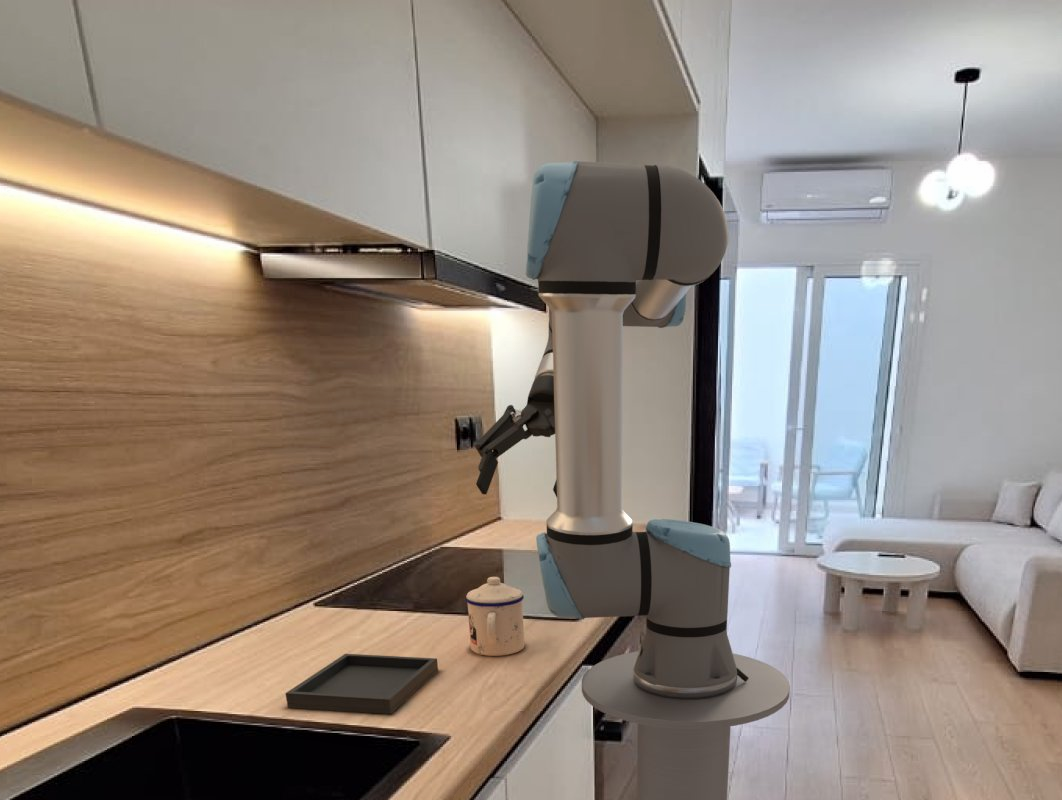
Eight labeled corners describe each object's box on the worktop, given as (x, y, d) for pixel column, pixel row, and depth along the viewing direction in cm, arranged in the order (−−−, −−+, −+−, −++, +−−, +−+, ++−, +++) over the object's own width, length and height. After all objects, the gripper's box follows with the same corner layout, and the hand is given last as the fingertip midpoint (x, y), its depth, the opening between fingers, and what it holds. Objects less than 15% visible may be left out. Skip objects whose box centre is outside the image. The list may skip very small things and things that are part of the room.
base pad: (438, 671, 121) (437, 658, 120) (391, 714, 106) (389, 699, 105) (346, 666, 123) (345, 653, 122) (287, 707, 108) (285, 693, 107)
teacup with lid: (473, 640, 135) (468, 571, 131) (527, 639, 136) (524, 571, 132) (463, 663, 124) (457, 589, 120) (522, 662, 125) (518, 589, 121)
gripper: (629, 407, 137) (597, 511, 130) (497, 402, 144) (460, 500, 137) (618, 374, 130) (584, 482, 123) (480, 370, 137) (440, 472, 130)
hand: (518, 492), depth 130 cm, fingers open, 13 cm apart
